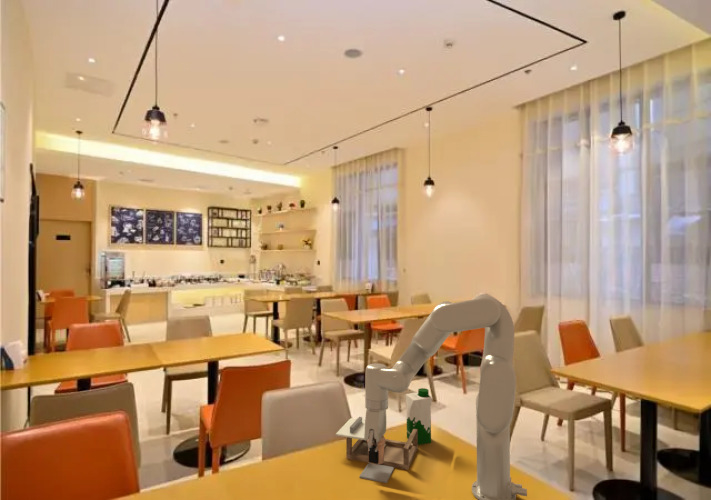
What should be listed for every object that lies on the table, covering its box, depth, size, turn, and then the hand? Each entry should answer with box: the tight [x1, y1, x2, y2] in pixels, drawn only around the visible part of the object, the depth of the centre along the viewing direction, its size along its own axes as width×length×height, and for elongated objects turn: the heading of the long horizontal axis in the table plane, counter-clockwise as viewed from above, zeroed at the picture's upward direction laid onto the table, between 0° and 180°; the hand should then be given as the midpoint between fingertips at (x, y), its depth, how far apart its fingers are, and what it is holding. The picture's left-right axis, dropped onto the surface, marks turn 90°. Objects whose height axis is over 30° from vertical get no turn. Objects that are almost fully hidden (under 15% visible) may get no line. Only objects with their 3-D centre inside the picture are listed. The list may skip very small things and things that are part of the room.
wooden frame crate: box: [345, 429, 419, 471], centre depth 145 cm, size 22×16×8 cm
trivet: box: [359, 462, 395, 484], centre depth 131 cm, size 9×9×2 cm
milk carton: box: [405, 387, 433, 446], centre depth 155 cm, size 9×9×20 cm
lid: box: [335, 416, 365, 440], centre depth 148 cm, size 11×15×3 cm
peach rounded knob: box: [367, 437, 386, 465], centre depth 131 cm, size 6×6×7 cm
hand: (376, 457), depth 131 cm, fingers closed on peach rounded knob, 5 cm apart
